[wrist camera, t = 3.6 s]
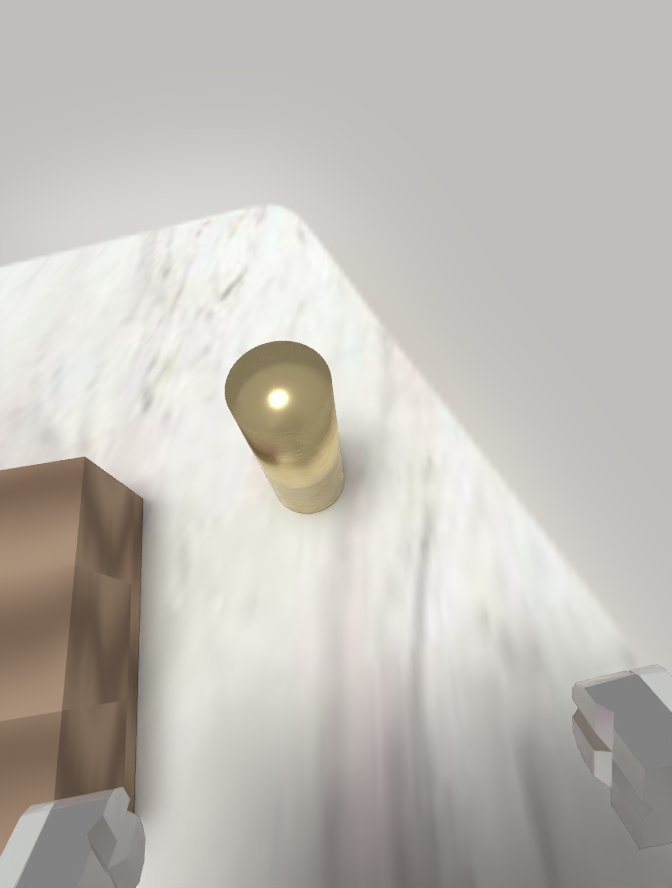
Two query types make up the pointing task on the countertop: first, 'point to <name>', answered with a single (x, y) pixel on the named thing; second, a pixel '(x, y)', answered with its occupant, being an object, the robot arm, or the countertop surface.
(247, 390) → the pin
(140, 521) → the hole block
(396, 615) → the countertop surface
